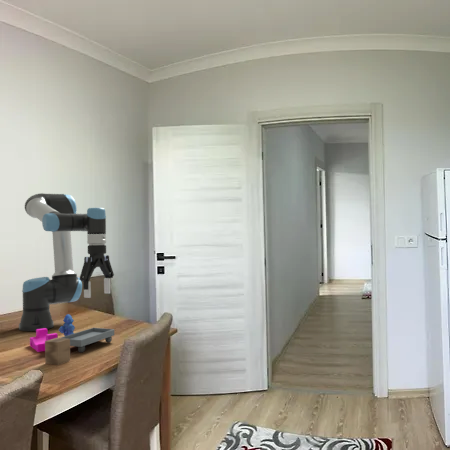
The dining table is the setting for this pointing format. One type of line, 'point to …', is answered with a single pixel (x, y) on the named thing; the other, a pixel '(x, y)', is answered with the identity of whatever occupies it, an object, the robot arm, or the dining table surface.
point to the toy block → (41, 339)
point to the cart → (89, 337)
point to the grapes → (67, 326)
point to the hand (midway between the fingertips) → (97, 295)
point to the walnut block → (57, 351)
